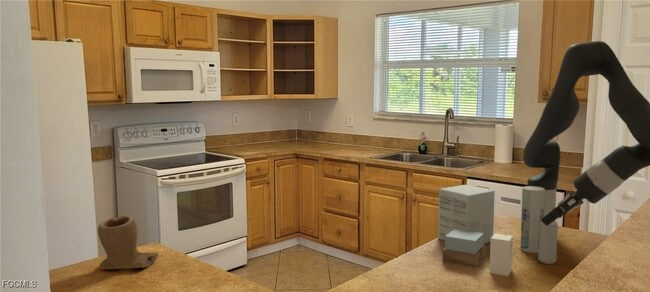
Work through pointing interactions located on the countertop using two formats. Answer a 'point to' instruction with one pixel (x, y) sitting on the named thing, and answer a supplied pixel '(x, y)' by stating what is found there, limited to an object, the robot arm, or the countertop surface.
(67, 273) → the countertop surface
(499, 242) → the cream block
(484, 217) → the supplement box
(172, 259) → the countertop surface
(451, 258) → the walnut base block
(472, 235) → the slate-blue top block
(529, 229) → the spray can
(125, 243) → the stone cup
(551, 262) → the beverage can
